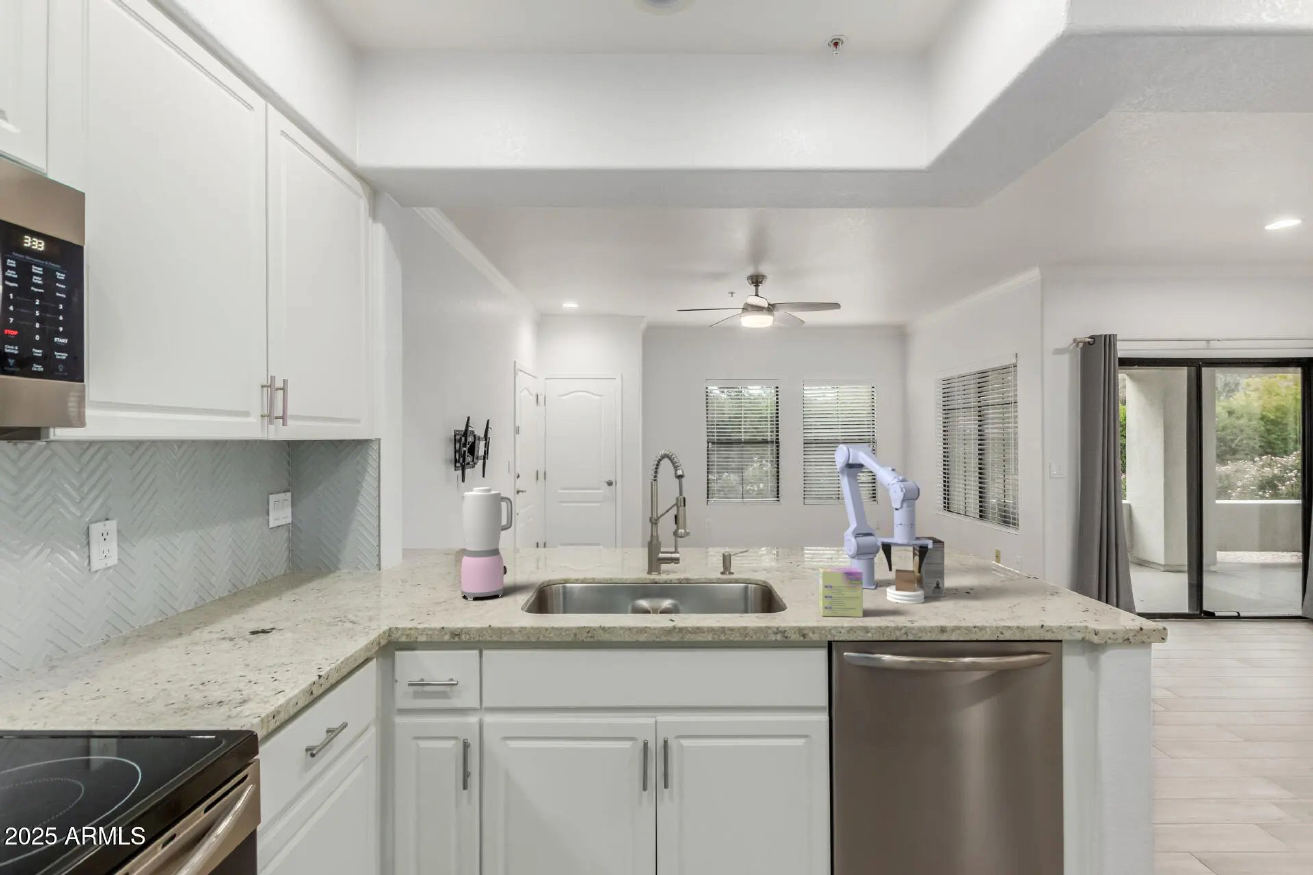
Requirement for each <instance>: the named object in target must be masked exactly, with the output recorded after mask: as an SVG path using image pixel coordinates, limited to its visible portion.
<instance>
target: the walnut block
mask: <svg viewBox="0 0 1313 875" xmlns="http://www.w3.org/2000/svg"><path fill="white" fill-rule="evenodd" d="M894 577H895V578H894V580H895V584H894V586H895V590H897V591H910V592H915V570H913V569H912V570H911V569H899V568H897V569H895V573H894Z"/></svg>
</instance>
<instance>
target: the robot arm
mask: <svg viewBox="0 0 1313 875" xmlns="http://www.w3.org/2000/svg"><path fill="white" fill-rule="evenodd" d="M873 450H874V449H873V448H871V447H870V446H869V445H868V444H865V443H864V444H863V443H862V444H839V445H838V446H837V447H836V450H835V453H834V455H833V456H834V459H835V460H834V461H835V465H836V469H837V472H838V476H839V477H838V478H839V481H840V485H841V491H842V496H843V501H844V505H845V510H846V515H847V520H848V524H849V528H847V530H846V531H845V532H844V533H843V538H844V543H843V548H844V551H845V553H846V555H847V557H849V568H859V569H860V570H861V571H862V572H863V589H871V590H873V589H875V590H876V586H878V585H877V584H878V581H877V580H875V558H877V555H878V554H879V552H880V549H881V550H882V553H883V556H884V557H885V559H886V562H887V567H888V572H891V573H892V572H893V564H892V546H893V547H908V548H909V547H912V548H913V547H919V565H918V573H919V574H921V568H922V564H923V561H924V558H925V556H926V554H927V552H928V548H932V547H933V546H932V540H922V539H916V538H915V537H916V501H917V500H918V499H920V496H921V490H920V486H919V484H918V483H917V482H916V480H915V481H914V480H908V479H906V477H905V476H903V475H901V473H899V472H898V471H897V470H896V468H895V467H894V466H887V465H886V466H885V465H884V464H883V463H882V462H881V461H880V460H879V458H878V457H877V456H876V455H875V454H874V451H873ZM865 468H867V469H868V470H870V471H871V472H872V473H873V474H875V475H876V480H877V481H878V483H879V484H880V485H881V486H882V487H883V488H885V490H886V491H888V495H889V497H890V499H891V506H892V508H893V537H878V536H877V532H876V529H874V528H873V527H872V526H870V525H869V524H868V521H867V517H866V511H865V507H864V502H863V499H862V498H863V496H862V493H861V489H860V484H859V479H858V476H859V473H861V472H862V471H863V470H864V469H865Z"/></svg>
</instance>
